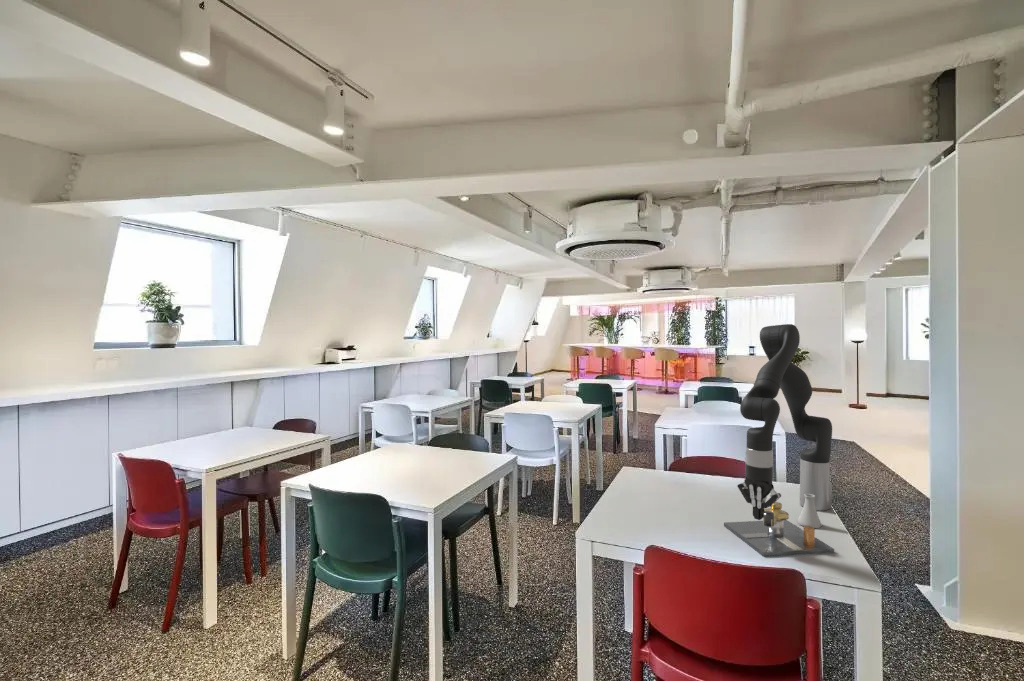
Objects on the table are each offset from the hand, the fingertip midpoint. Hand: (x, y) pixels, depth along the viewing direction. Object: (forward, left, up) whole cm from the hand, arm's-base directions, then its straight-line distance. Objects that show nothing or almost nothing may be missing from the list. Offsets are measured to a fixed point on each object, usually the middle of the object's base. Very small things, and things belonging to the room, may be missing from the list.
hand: (758, 518), depth 152 cm
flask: (-26, -13, -8) cm, 30 cm away
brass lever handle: (-5, -1, -1) cm, 5 cm away
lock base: (-8, -4, -8) cm, 12 cm away
